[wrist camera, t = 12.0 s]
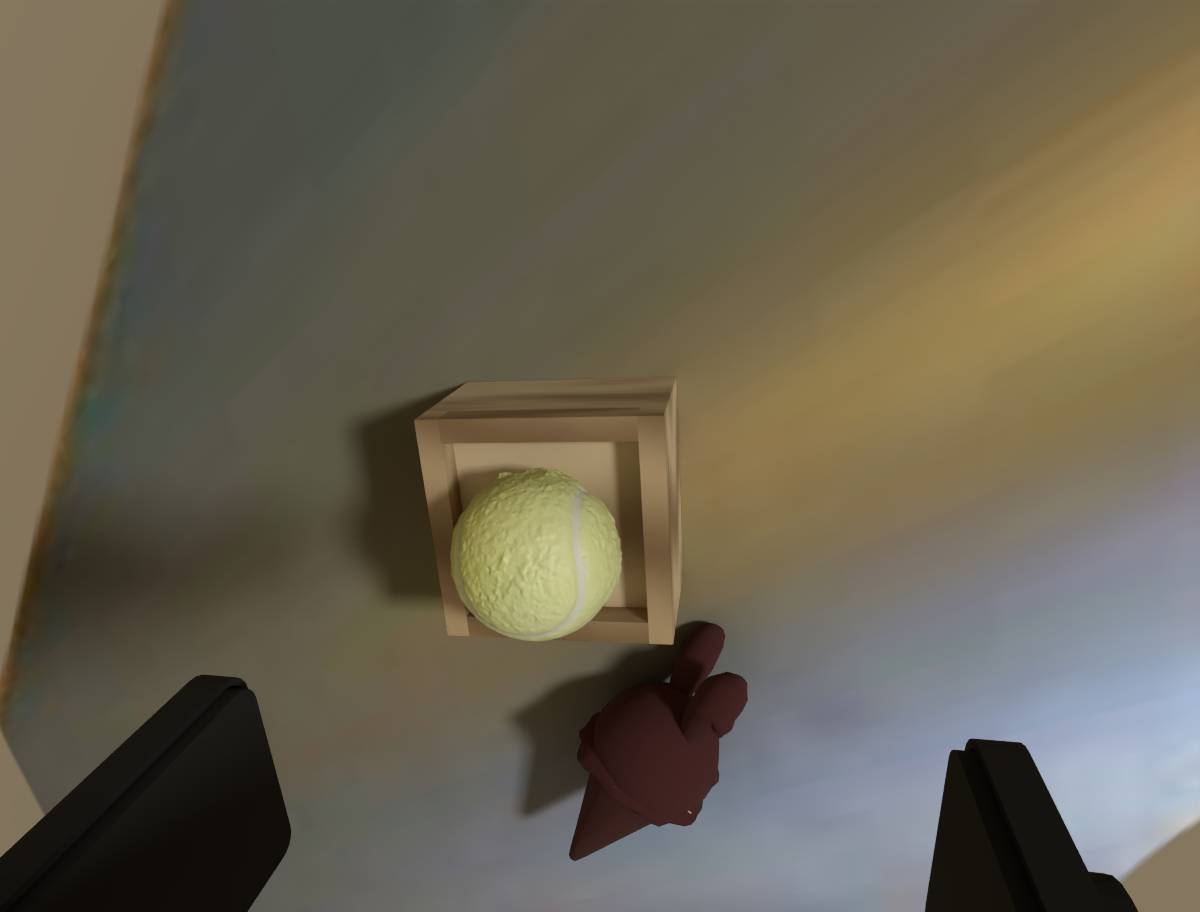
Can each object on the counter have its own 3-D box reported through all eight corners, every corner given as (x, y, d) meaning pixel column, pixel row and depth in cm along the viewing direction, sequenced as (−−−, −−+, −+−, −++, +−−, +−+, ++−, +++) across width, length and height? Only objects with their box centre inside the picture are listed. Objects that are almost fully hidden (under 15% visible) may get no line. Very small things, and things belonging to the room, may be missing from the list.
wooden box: (466, 382, 35) (414, 419, 29) (676, 376, 33) (663, 415, 27) (491, 568, 38) (448, 635, 32) (683, 573, 36) (673, 644, 31)
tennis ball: (450, 686, 26) (624, 656, 25) (391, 513, 26) (567, 468, 24) (511, 614, 33) (654, 586, 31) (465, 473, 32) (609, 434, 30)
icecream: (640, 941, 37) (818, 731, 32) (509, 900, 35) (679, 671, 30) (624, 823, 43) (770, 635, 39) (512, 783, 41) (653, 580, 37)
